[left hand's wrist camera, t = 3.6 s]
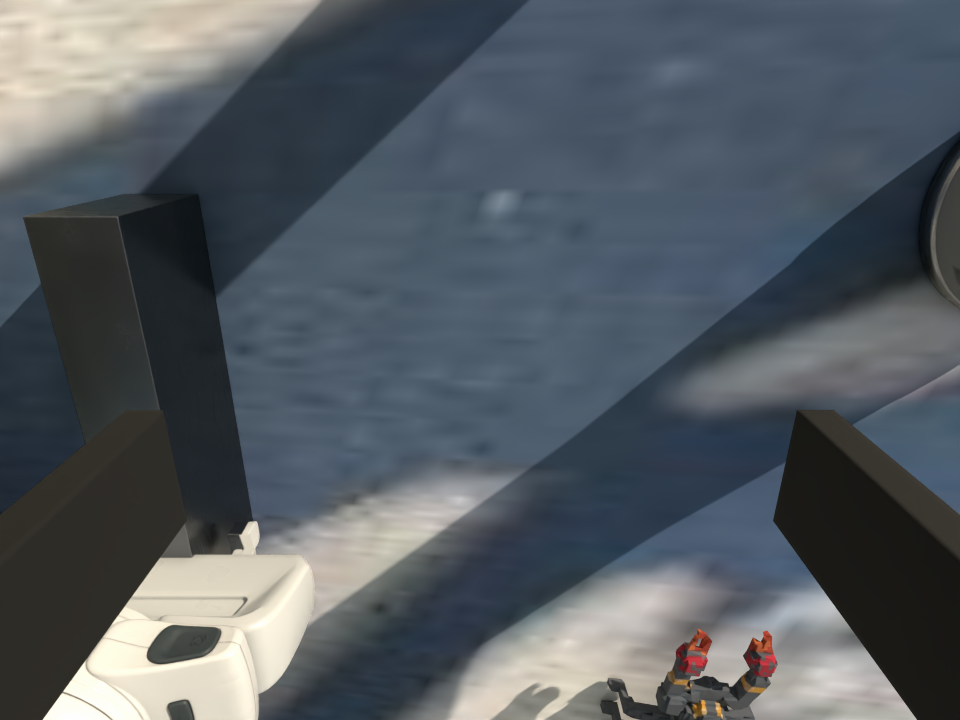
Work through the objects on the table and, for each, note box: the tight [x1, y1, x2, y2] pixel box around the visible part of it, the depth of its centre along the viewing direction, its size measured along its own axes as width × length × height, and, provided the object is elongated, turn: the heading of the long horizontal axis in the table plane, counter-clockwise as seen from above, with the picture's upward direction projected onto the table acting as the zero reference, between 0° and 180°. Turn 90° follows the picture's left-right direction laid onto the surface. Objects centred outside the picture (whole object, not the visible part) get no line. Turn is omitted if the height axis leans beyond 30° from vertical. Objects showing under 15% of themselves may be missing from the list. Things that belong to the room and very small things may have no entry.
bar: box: [23, 194, 253, 558], centre depth 40 cm, size 26×5×10 cm, turn 0°
